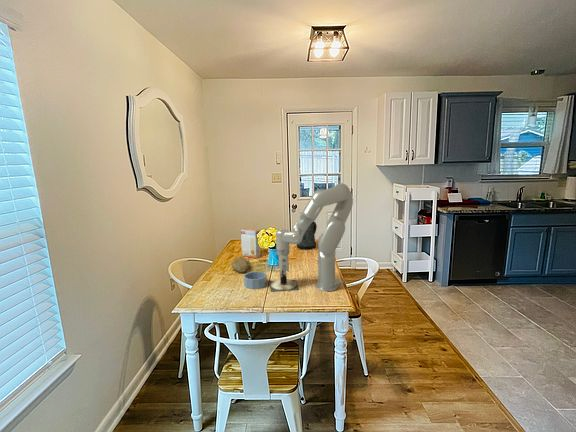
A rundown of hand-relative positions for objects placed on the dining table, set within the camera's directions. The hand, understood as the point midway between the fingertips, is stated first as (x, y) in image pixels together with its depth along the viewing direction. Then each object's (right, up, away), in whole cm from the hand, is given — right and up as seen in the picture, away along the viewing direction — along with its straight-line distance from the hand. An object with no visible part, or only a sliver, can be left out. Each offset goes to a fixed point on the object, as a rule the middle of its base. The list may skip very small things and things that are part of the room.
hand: (283, 281), depth 181 cm
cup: (-16, -3, +2) cm, 17 cm away
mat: (0, -3, +1) cm, 3 cm away
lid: (0, -2, 0) cm, 2 cm away
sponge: (-29, +2, +30) cm, 42 cm away
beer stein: (+18, +12, +83) cm, 85 cm away
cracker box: (-25, +7, +58) cm, 63 cm away
